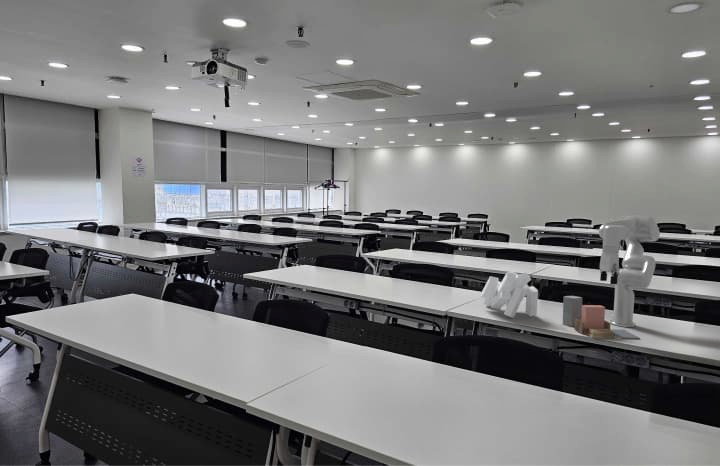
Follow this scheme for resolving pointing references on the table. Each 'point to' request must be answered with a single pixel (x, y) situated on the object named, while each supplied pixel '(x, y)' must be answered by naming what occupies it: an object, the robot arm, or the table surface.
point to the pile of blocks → (511, 293)
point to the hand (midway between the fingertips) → (608, 282)
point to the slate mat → (623, 334)
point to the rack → (580, 328)
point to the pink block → (593, 316)
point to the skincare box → (572, 309)
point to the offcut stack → (600, 333)
